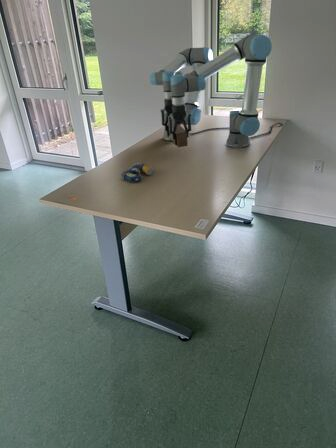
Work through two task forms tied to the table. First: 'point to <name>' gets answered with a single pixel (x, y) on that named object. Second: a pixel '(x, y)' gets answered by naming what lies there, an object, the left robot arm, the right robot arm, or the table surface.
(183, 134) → the bar
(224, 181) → the table surface
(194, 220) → the table surface
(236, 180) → the table surface
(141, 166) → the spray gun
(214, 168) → the table surface
